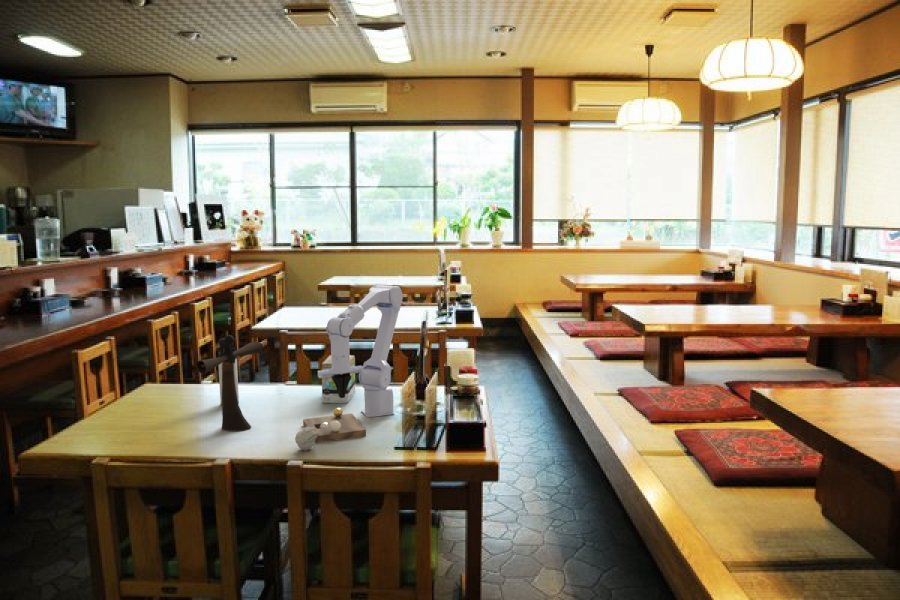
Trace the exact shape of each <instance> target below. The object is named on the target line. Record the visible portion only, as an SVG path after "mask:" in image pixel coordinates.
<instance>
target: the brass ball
mask: <svg viewBox="0 0 900 600" xmlns="http://www.w3.org/2000/svg"><path fill="white" fill-rule="evenodd" d="M332 411H333V412H332V413H333V415H334V416H336V417H340V416H341V415H342V414H344V413H343V410H342V408H340V407H336V408H334V409H333V410H332Z"/></svg>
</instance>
